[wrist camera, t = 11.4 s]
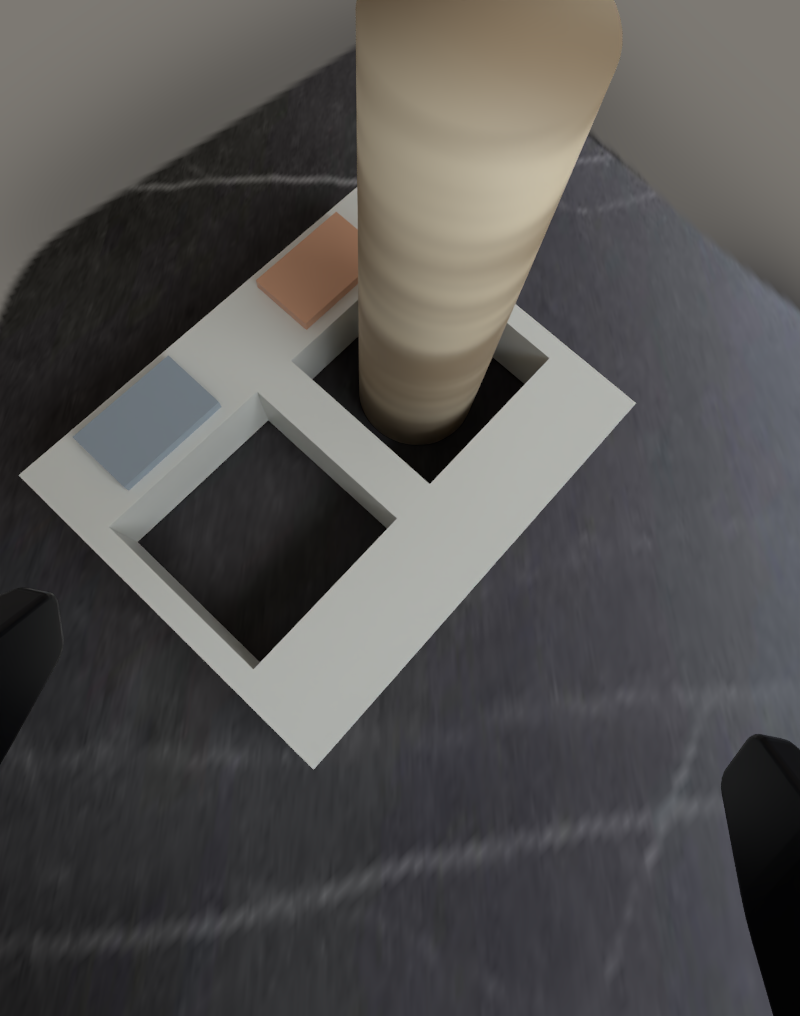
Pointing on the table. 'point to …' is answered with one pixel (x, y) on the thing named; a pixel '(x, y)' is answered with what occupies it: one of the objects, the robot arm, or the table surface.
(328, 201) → the table surface
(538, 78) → the plug
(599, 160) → the table surface
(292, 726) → the socket board
